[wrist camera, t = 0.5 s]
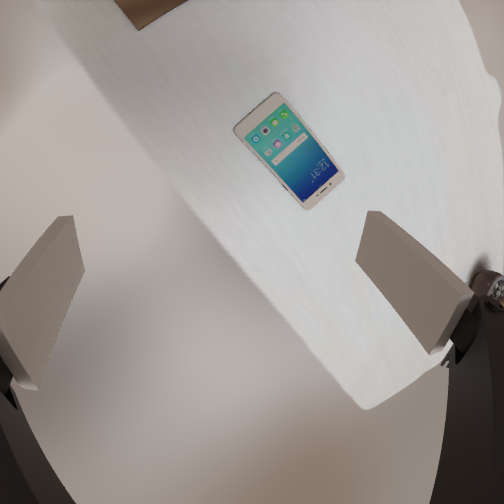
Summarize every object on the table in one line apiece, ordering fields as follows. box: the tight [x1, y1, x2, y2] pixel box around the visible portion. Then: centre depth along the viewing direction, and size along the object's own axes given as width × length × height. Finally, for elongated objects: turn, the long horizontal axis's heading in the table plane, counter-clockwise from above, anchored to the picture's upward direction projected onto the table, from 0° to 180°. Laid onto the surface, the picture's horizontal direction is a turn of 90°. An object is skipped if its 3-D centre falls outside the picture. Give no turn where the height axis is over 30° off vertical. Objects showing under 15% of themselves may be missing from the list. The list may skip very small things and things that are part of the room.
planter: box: [471, 270, 504, 307], centre depth 51 cm, size 15×17×20 cm
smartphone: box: [234, 93, 345, 210], centre depth 36 cm, size 8×1×15 cm
